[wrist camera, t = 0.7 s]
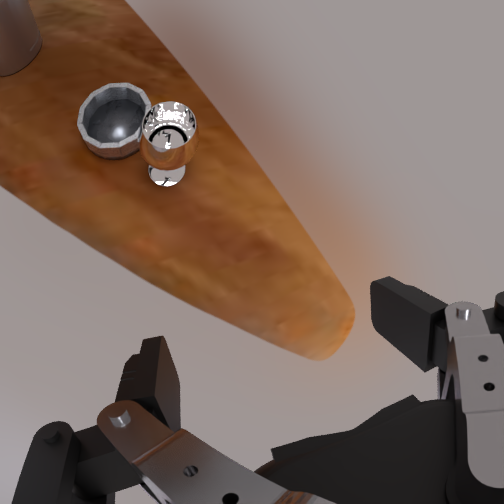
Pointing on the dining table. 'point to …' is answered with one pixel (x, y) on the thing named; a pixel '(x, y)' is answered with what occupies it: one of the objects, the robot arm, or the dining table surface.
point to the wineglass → (168, 141)
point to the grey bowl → (113, 120)
